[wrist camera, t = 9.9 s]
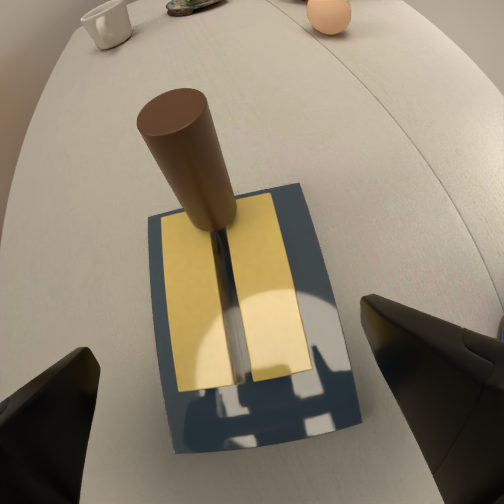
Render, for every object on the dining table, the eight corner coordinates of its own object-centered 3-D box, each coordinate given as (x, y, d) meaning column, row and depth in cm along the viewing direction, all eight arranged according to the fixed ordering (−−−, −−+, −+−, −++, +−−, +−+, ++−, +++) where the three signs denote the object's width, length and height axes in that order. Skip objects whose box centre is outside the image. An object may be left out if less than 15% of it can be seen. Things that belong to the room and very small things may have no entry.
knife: (251, 259, 18) (209, 122, 8) (212, 267, 18) (133, 144, 8) (238, 195, 20) (200, 53, 10) (203, 203, 20) (144, 70, 10)
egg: (305, 24, 32) (303, -20, 25) (345, 27, 31) (347, -17, 24) (308, 40, 30) (308, -10, 23) (353, 43, 29) (357, -6, 22)
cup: (136, 46, 35) (120, 6, 27) (91, 66, 35) (72, 30, 27) (137, 26, 39) (125, -6, 32) (99, 43, 39) (84, 12, 32)
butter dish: (359, 420, 14) (384, 436, 10) (178, 450, 15) (145, 471, 10) (299, 188, 21) (300, 143, 16) (151, 222, 21) (123, 185, 17)
